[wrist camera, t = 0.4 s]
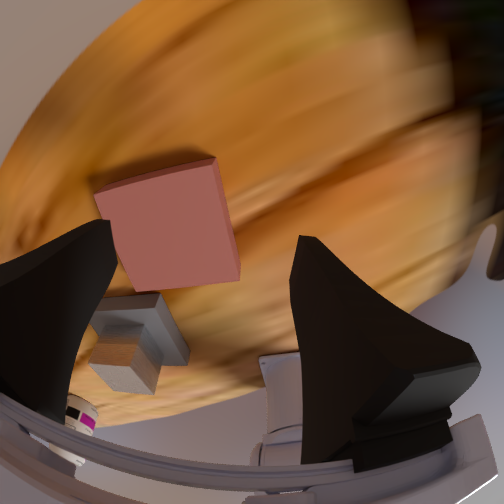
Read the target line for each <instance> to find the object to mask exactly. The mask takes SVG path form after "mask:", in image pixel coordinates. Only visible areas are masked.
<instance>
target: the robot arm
mask: <svg viewBox="0 0 504 504" xmlns="http://www.w3.org/2000/svg"><path fill="white" fill-rule="evenodd" d="M117 264H118V261H117V256H116V251H115V246H114V240H113V235H112V229H111V222H110V220H104V219H96V220H93V221H90V222H88V223H86V224H83V225H81V226H79V227H77V228H75V229H73V230H71V231H69V232H67V233H65V234H63V235H62V236H60V237H58V238H56V239H54V240H52V241H50V242H48V243H46V244H44V245H42V246H40V247H39V248H37V249H35V250H33V251H31V252H29V253H26V254H24V255H22V256H20V257H18V258H15V259H13V260H11V261H8V262H6V263H3V264H0V504H147V503H143V502H139V501H136V500H132V499H128V498H125V497H122V496H119V495H115V494H113V493H110V492H107V491H104V490H101V489H99V488H96V487H93V486H91V485H88V484H86V483H83V482H81V481H79V480H77V479H75V477H74V474H75V470H76V465H75V464H74V463H72V462H70V461H68V460H67V459H65V458H63V457H61V456H59V455H58V454H56V453H55V452H53V451H51V450H50V449H48V448H47V447H46V446H44V445H43V444H42V443H40V442H38V441H37V440H35V439H33V438H32V437H30V434H29V432H30V433H32V434H34V435H35V436H37V437H39V438H41V439H43V440H45V441H47V442H49V443H51V444H53V445H55V446H57V447H59V448H61V449H63V450H65V451H68V452H70V453H72V454H75V455H77V456H79V457H82V458H84V459H87V460H90V461H92V462H95V463H97V464H100V465H103V466H106V467H109V468H113V469H115V470H119V471H122V472H125V473H129V474H132V475H136V476H140V477H144V478H148V479H152V480H156V481H162V482H166V483H171V484H177V485H183V486H190V487H196V488H204V489H215V490H226V491H246V492H249V491H250V492H255V496H248V497H247V498H245V501H243V502H242V504H458V503H460V502H461V501H463V500H464V499H466V498H467V497H469V496H470V495H471V494H473V493H474V492H476V491H477V490H479V489H480V488H481V487H483V486H484V485H486V484H487V483H488V482H490V481H491V480H493V479H494V478H495V477H497V475H498V470H497V466H496V462H495V458H494V454H493V451H492V447H491V444H490V441H489V437H488V434H487V431H486V428H485V425H484V422H483V420H482V417H481V414H477V415H475V416H473V417H470V418H468V419H465V420H463V421H460V422H458V423H456V424H455V425H453V426H451V427H449V426H448V422H447V419H449V418H451V416H452V413H451V410H450V407H449V406H450V405H451V404H452V403H454V402H455V401H456V400H457V399H458V398H459V397H460V396H461V395H462V394H464V392H466V390H468V389H469V387H471V385H472V384H473V383H474V382H475V381H476V379H477V378H478V376H479V373H480V370H481V365H480V363H479V360H478V358H477V356H476V354H475V352H474V351H473V349H472V347H471V345H470V344H469V343H467V342H464V341H462V340H460V339H458V338H455V337H453V336H450V335H448V334H445V333H443V332H441V331H439V330H437V329H435V328H433V327H431V326H429V325H427V324H425V323H424V322H422V321H420V320H418V319H416V318H415V317H413V316H411V315H410V314H408V313H407V312H405V311H403V310H402V309H400V308H399V307H397V306H395V305H394V304H393V303H391V302H390V301H388V300H387V299H385V298H384V297H383V296H381V295H380V294H379V293H377V292H376V291H375V290H373V289H372V288H371V287H370V286H368V285H367V284H366V283H365V282H364V281H362V280H361V279H360V278H359V277H358V276H357V275H356V274H354V273H353V272H352V271H351V270H350V269H349V268H348V267H347V266H346V265H345V264H344V263H343V262H341V261H340V260H339V259H338V258H337V257H336V256H335V255H334V254H333V253H332V252H331V251H330V250H329V249H328V248H327V247H326V246H325V245H324V244H323V243H322V242H321V241H320V240H319V239H317V238H316V237H312V236H302V235H299V238H298V243H297V247H296V252H295V257H294V261H293V266H292V270H291V275H290V279H289V284H290V302H291V308H292V313H293V319H294V324H295V330H296V335H297V340H298V346H299V351H300V352H295V353H287V354H279V355H269V356H261V357H259V364H260V368H261V371H262V375H263V379H264V382H265V386H266V391H267V434H265V435H263V442H260V443H258V444H257V445H256V446H255V448H254V449H253V450H252V452H251V457H250V466H242V465H226V464H213V463H204V462H197V461H190V460H183V459H176V458H171V457H166V456H161V455H156V454H151V453H147V452H142V451H139V450H135V449H131V448H127V447H124V446H120V445H117V444H113V443H110V442H107V441H104V440H101V439H98V438H95V437H92V436H89V435H87V434H84V433H81V432H79V431H76V430H74V429H71V428H69V427H66V426H64V425H65V416H66V405H67V396H68V390H69V385H70V379H71V374H72V370H73V366H74V363H75V359H76V355H77V352H78V349H79V346H80V343H81V340H82V337H83V334H84V332H85V330H86V328H87V325H88V323H89V322H90V320H91V318H92V316H93V314H94V312H95V310H96V308H97V306H98V305H99V303H100V301H101V299H102V297H103V295H104V294H105V292H106V290H107V288H108V286H109V284H110V282H111V280H112V277H113V275H114V272H115V270H116V267H117ZM300 490H303V491H302V492H295V493H285V494H280V493H279V492H291V491H300Z"/></svg>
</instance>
